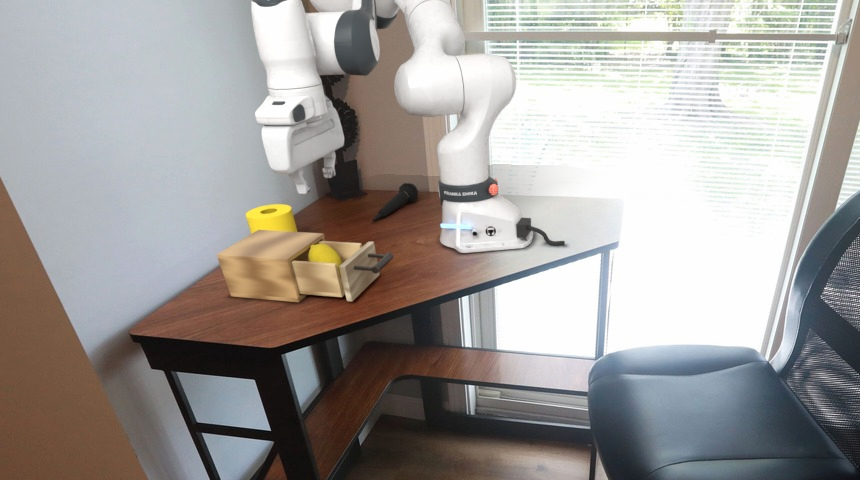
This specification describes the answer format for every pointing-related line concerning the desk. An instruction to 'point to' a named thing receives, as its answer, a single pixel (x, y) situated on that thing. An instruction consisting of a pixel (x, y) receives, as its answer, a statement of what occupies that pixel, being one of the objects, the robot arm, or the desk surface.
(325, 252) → the lemon
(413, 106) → the robot arm
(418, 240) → the desk surface
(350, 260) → the drawer
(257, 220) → the tape roll
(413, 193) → the microphone
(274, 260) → the cabinet
